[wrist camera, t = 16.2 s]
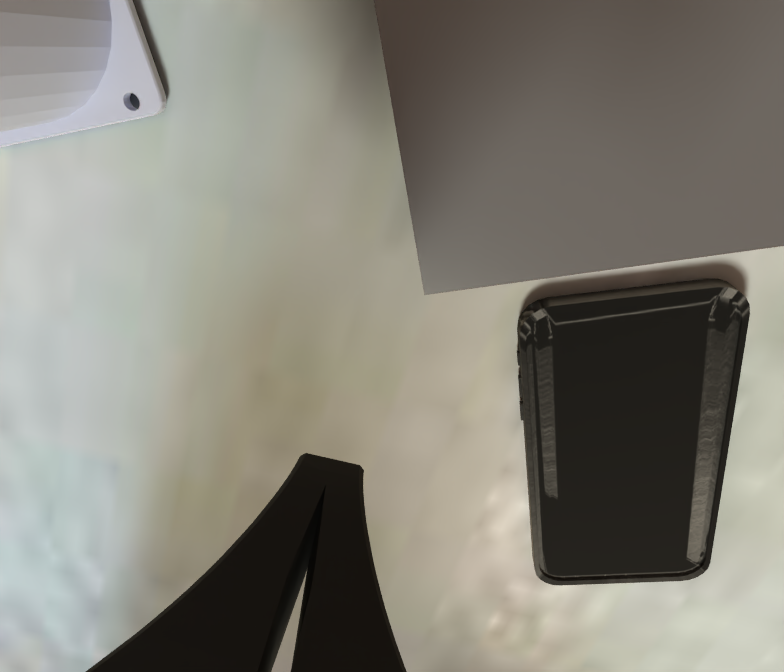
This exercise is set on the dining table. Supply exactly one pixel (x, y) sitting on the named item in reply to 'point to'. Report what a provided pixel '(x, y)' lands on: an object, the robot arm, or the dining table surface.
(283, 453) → the dining table surface
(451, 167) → the grey drawer box
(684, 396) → the phone
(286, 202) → the dining table surface
